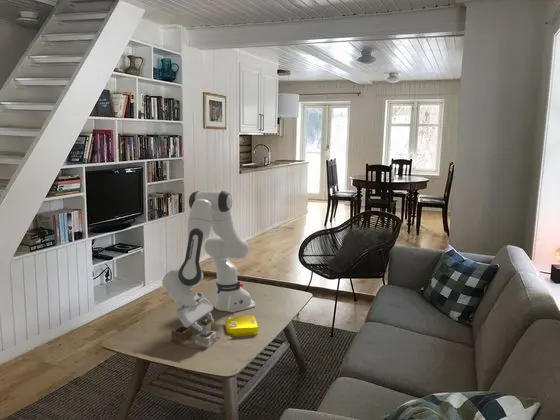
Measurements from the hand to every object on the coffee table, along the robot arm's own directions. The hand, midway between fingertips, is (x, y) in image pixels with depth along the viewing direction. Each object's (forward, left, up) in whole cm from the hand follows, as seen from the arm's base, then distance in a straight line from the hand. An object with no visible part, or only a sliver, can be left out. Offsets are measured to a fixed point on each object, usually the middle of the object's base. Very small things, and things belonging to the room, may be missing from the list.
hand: (207, 326), depth 211 cm
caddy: (+5, -5, -9) cm, 12 cm away
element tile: (-20, -11, -10) cm, 25 cm away
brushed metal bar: (0, 0, -8) cm, 8 cm away
